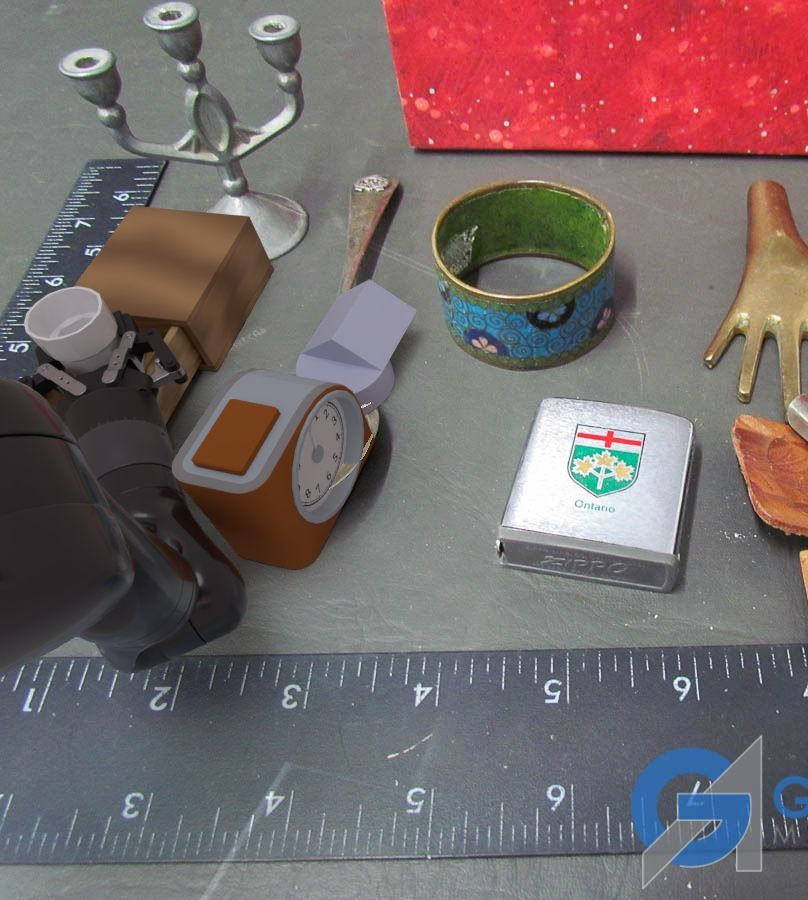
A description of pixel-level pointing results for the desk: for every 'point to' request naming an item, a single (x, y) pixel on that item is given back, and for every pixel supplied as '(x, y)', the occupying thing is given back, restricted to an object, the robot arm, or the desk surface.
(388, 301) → the wedge on round base
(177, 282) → the cabinet
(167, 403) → the drawer
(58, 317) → the cup
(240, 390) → the alarm clock
